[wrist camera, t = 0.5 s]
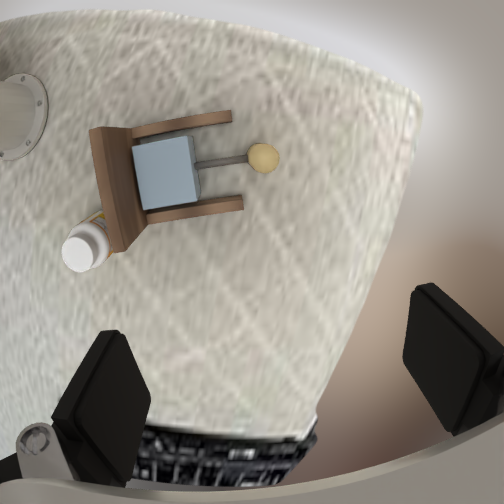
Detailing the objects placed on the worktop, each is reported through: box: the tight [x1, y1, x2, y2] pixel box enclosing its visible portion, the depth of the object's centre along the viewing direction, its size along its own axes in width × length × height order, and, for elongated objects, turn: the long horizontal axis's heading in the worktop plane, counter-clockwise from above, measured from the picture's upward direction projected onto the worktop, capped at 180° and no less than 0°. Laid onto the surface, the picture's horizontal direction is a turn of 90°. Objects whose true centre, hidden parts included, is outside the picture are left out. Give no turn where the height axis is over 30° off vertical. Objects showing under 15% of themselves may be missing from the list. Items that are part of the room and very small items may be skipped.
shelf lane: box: [89, 110, 244, 253], centre depth 31 cm, size 12×11×12 cm
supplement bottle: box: [62, 210, 113, 272], centre depth 33 cm, size 5×5×10 cm
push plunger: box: [132, 136, 279, 210], centre depth 33 cm, size 15×7×6 cm, turn 97°
